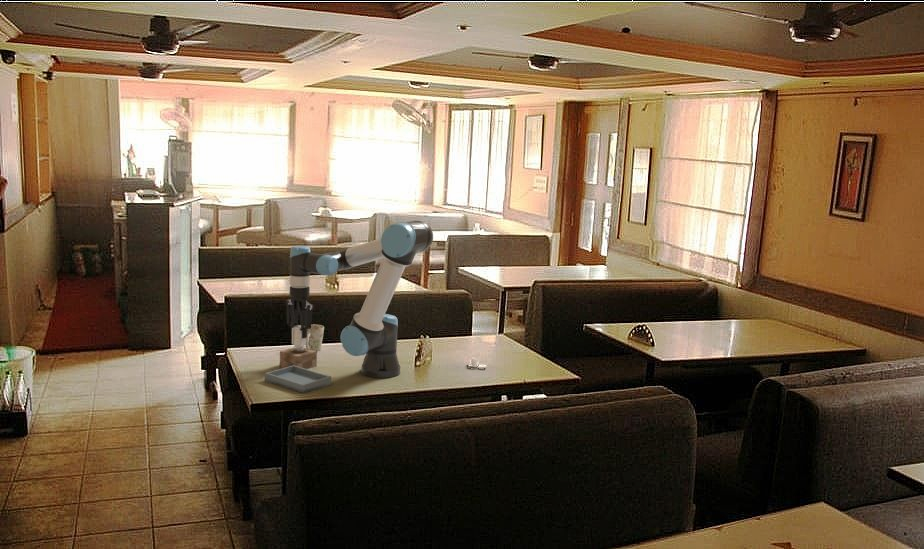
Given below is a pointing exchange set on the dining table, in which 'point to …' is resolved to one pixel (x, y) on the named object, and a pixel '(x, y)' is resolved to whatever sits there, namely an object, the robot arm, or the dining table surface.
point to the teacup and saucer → (476, 363)
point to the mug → (314, 337)
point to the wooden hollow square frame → (298, 358)
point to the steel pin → (297, 340)
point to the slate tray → (298, 379)
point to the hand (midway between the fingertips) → (298, 344)
